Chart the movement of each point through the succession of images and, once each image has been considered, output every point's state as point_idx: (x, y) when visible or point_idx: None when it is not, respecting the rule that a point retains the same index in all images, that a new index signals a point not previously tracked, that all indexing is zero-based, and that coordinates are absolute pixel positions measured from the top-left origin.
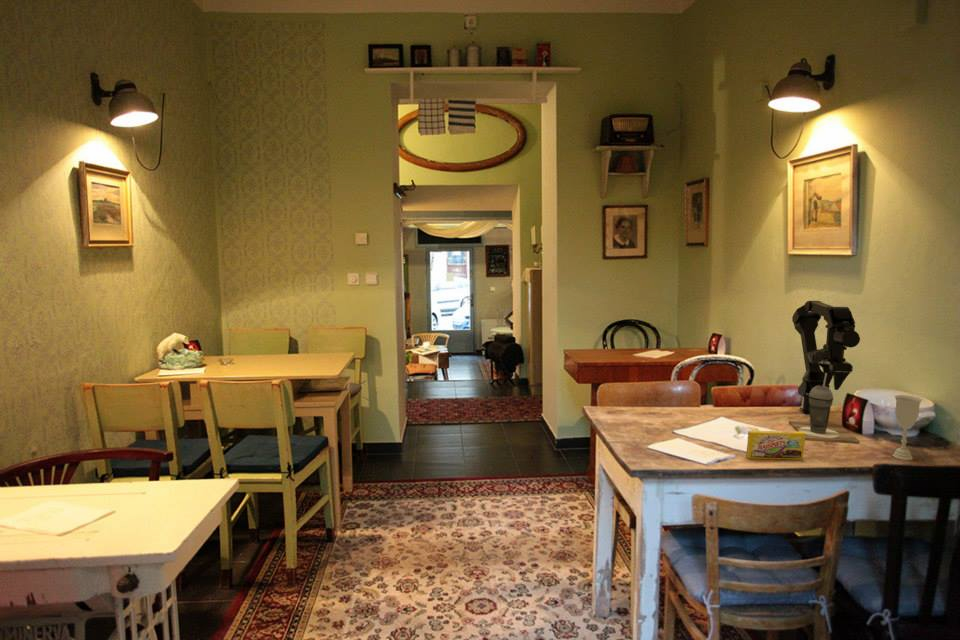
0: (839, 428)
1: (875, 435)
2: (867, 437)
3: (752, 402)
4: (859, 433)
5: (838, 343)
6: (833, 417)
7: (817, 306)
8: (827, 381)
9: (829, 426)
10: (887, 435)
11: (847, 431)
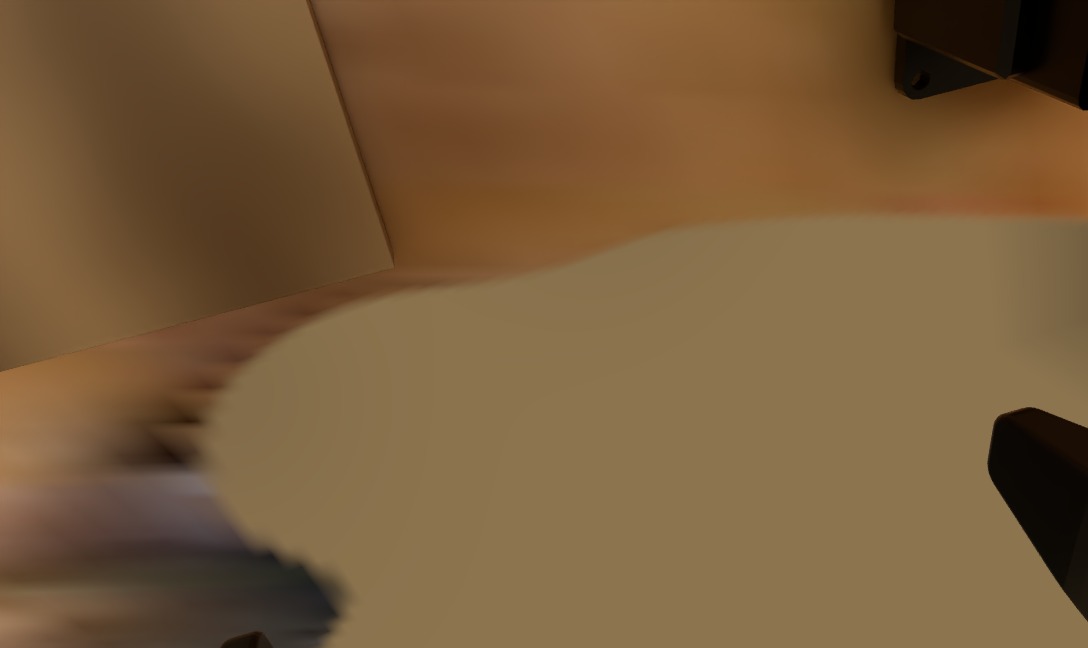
0: (108, 280)
1: (182, 563)
2: (24, 514)
3: None
4: (157, 449)
5: None
6: (801, 211)
7: None
8: (1046, 482)
9: (132, 160)
10: None
11: (9, 363)
